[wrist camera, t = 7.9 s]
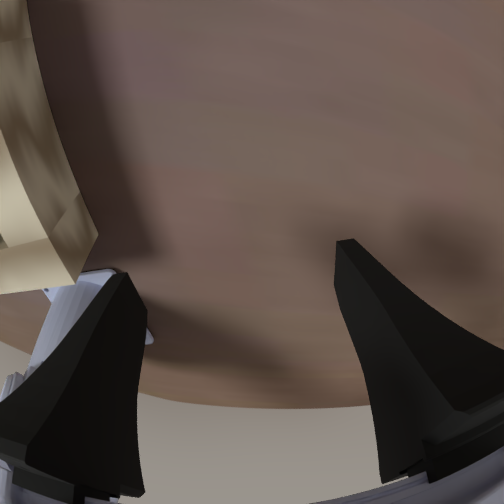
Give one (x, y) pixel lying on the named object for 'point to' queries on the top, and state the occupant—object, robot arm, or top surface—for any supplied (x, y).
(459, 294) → the top surface
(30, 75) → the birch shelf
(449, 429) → the robot arm
